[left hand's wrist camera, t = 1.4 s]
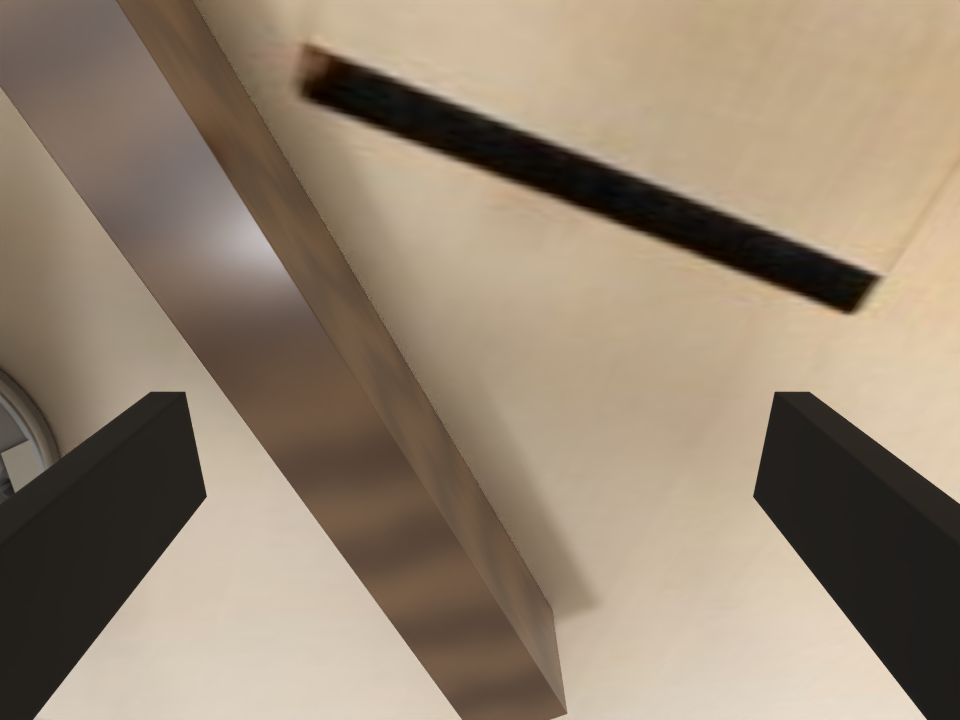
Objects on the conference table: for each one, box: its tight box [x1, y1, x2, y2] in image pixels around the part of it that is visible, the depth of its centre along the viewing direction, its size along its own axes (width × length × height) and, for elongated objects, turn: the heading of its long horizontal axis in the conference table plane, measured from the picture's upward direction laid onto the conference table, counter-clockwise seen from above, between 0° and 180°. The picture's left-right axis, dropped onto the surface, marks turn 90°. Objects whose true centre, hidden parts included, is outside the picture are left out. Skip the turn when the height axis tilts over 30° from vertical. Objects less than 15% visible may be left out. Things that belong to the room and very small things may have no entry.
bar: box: [0, 0, 567, 720], centre depth 24 cm, size 76×6×8 cm, turn 27°
